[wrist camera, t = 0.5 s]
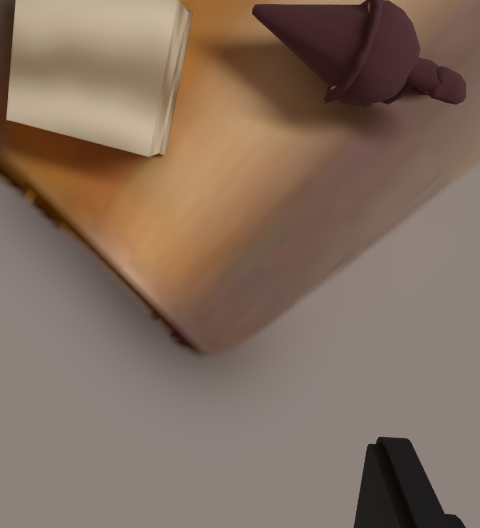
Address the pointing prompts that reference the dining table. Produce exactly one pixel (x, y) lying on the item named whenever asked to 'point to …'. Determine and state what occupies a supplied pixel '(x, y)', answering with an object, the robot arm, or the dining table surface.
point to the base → (99, 69)
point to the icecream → (361, 51)
